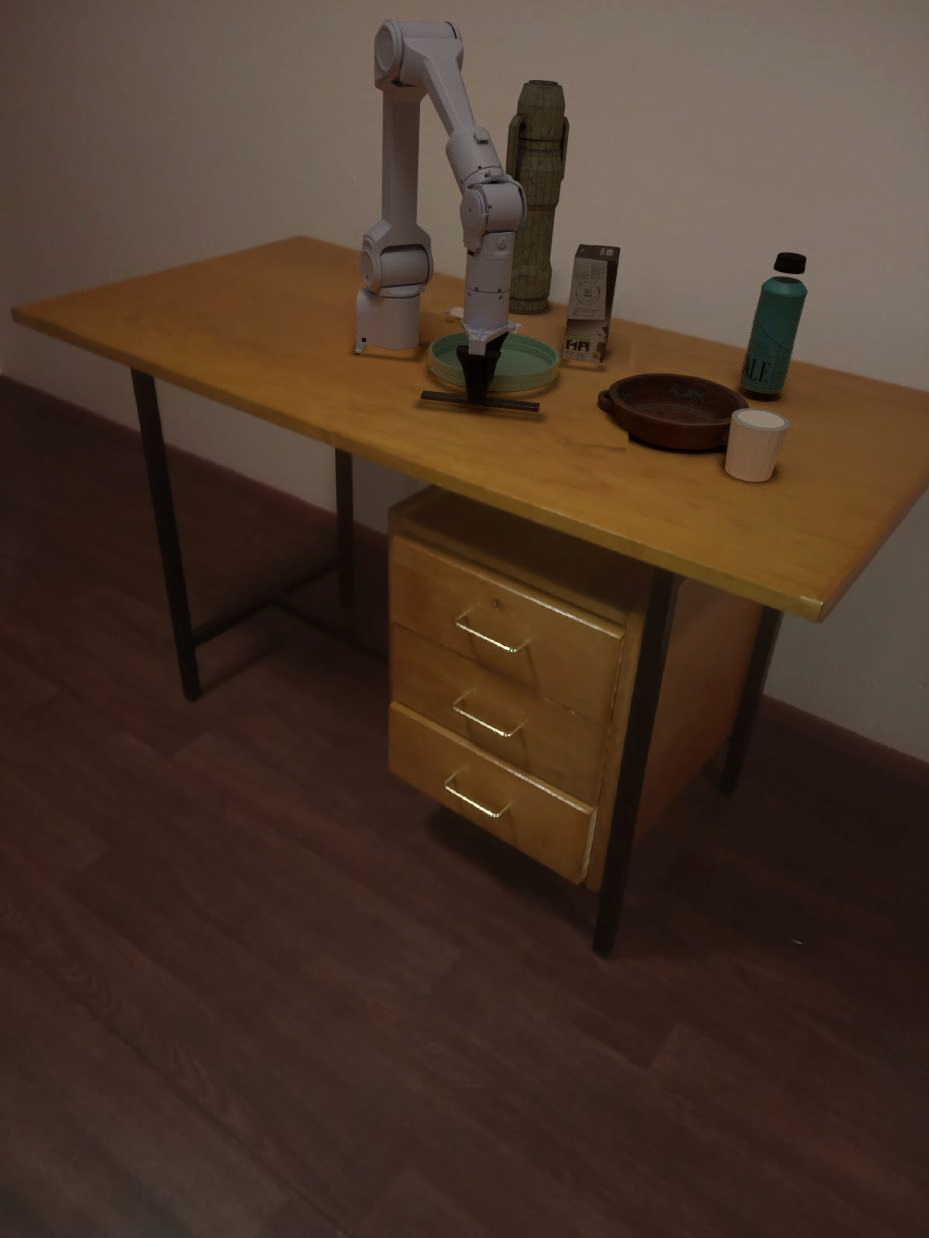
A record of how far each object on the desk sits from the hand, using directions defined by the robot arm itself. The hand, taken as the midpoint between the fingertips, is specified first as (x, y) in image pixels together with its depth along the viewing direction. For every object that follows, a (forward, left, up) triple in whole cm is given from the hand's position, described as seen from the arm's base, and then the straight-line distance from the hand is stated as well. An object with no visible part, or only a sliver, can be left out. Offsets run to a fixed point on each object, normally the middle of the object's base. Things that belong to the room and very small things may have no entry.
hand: (480, 390), depth 127 cm
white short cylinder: (+35, -10, -3) cm, 36 cm away
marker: (-5, +35, -3) cm, 36 cm away
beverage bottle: (+39, +17, -3) cm, 43 cm away
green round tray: (0, +14, -3) cm, 14 cm away
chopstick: (0, 0, -3) cm, 3 cm away
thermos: (+1, +49, -3) cm, 50 cm away
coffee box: (+13, +25, -3) cm, 29 cm away
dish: (+26, 0, -3) cm, 26 cm away
